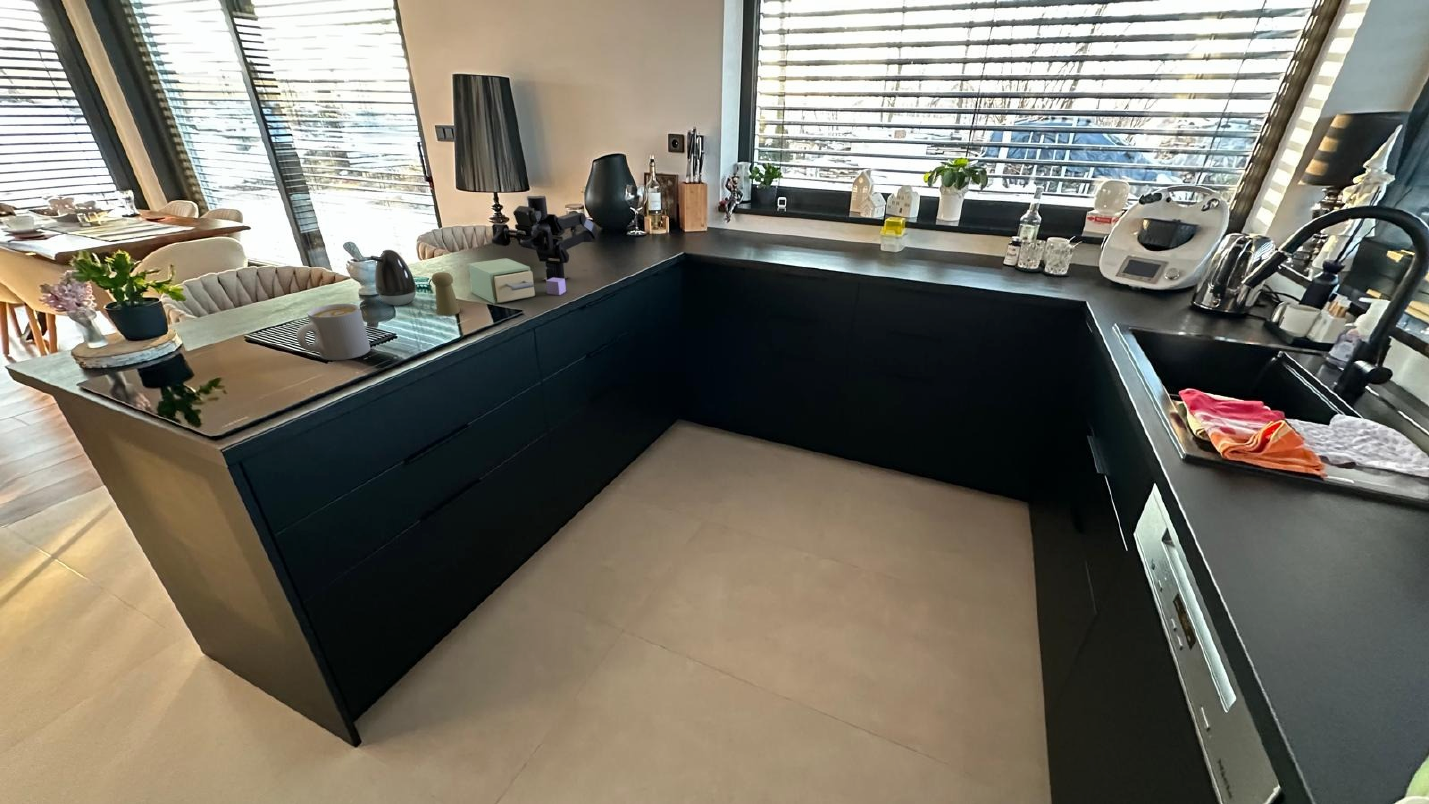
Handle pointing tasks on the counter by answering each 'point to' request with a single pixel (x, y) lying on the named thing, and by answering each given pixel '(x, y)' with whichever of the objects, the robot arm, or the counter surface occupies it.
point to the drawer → (513, 285)
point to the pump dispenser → (393, 278)
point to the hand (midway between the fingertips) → (506, 243)
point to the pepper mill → (445, 294)
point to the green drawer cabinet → (491, 276)
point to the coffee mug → (335, 332)
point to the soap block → (556, 286)
